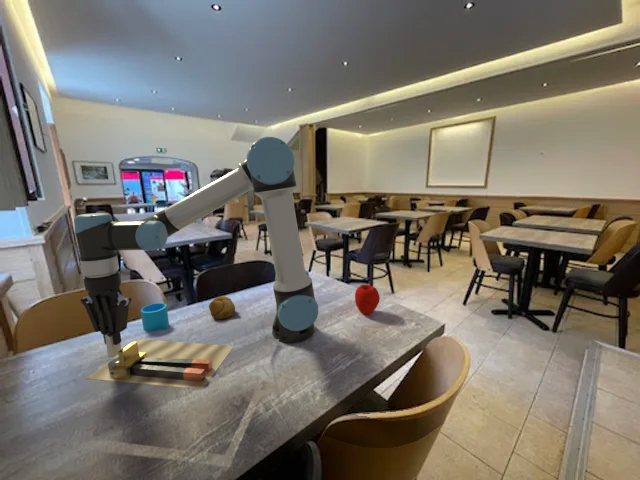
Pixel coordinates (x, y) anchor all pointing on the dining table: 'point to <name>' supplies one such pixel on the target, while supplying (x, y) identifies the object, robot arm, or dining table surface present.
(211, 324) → the dining table surface
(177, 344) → the board
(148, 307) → the mug
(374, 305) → the apple
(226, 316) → the bread roll
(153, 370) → the tong fixed
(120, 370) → the yellow stepped block
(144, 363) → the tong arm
